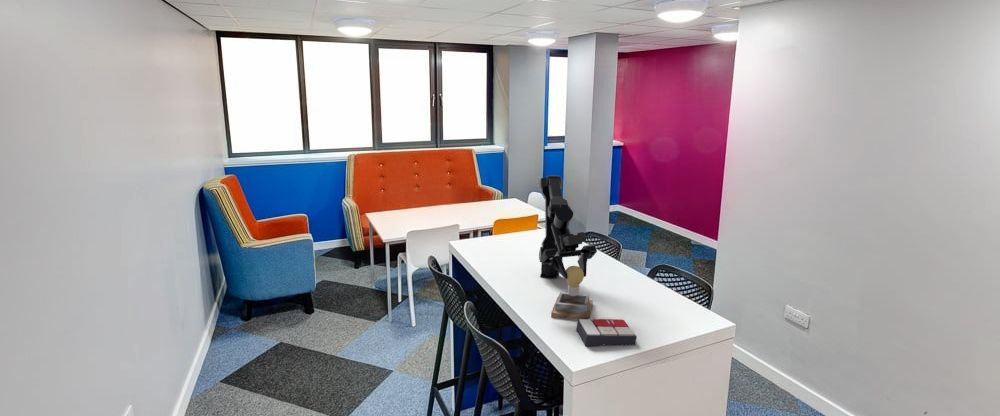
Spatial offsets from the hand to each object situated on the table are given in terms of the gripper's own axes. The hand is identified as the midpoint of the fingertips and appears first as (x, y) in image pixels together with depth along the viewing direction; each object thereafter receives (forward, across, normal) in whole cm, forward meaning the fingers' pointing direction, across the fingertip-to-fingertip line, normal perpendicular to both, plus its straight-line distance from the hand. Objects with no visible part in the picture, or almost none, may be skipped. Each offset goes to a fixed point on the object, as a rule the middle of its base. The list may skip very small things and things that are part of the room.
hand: (575, 277), depth 168 cm
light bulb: (+4, 0, +6) cm, 7 cm away
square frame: (+8, 0, +9) cm, 12 cm away
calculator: (+22, +1, -5) cm, 23 cm away
